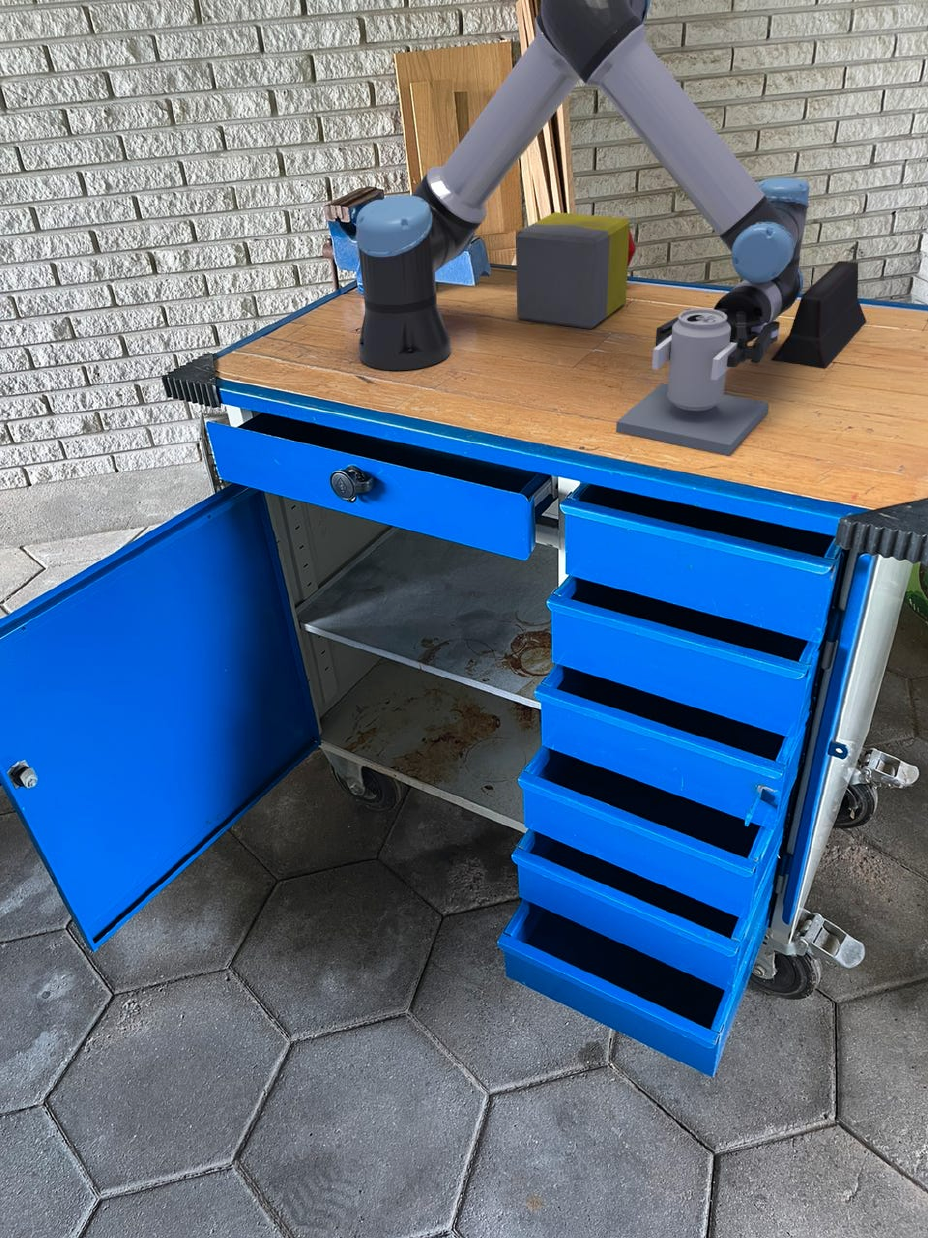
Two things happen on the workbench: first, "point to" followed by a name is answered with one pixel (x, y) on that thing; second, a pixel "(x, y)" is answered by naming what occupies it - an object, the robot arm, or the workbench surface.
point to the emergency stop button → (572, 268)
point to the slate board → (693, 422)
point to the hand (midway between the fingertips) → (684, 364)
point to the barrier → (824, 319)
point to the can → (697, 358)
